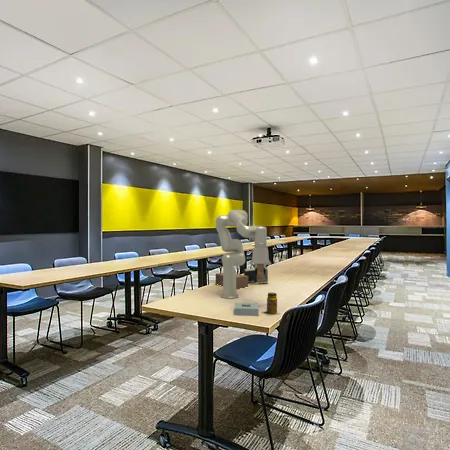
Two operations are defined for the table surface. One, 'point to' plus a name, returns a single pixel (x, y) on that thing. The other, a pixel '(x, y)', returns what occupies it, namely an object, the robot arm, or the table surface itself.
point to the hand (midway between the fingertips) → (260, 274)
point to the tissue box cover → (240, 280)
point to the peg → (260, 272)
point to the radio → (254, 276)
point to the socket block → (246, 309)
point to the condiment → (271, 304)
